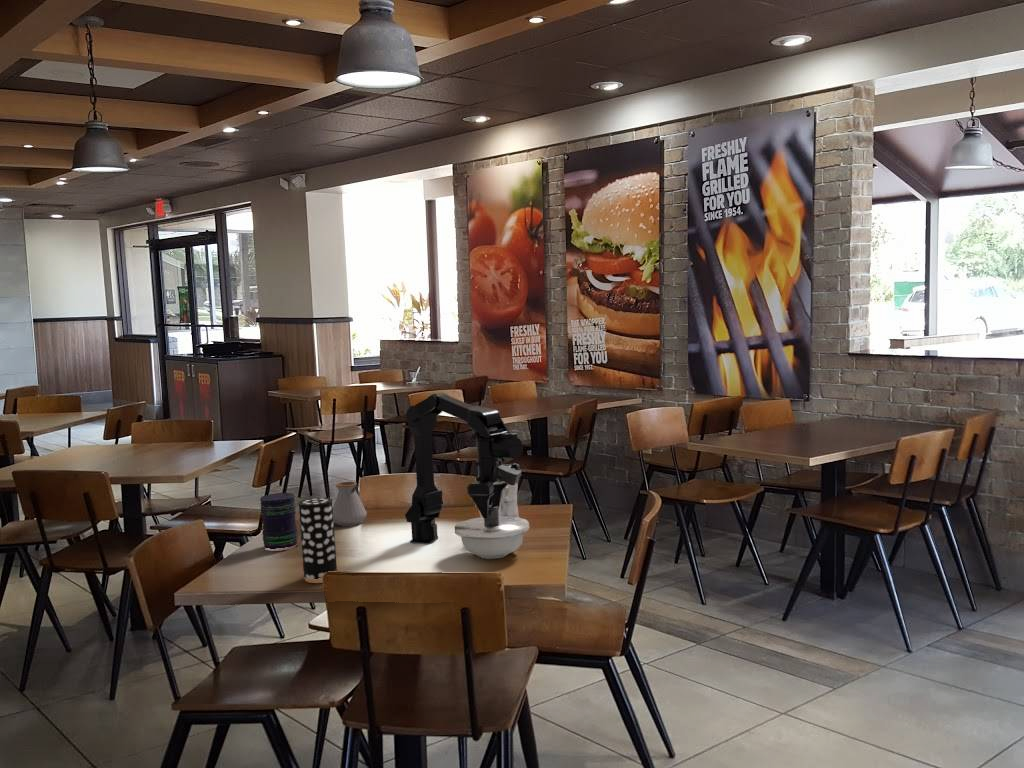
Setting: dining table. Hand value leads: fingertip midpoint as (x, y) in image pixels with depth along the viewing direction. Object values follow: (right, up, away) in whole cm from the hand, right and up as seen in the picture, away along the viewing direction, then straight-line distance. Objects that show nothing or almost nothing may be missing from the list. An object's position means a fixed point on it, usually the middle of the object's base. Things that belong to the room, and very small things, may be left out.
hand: (491, 514), depth 245 cm
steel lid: (0, -4, 0) cm, 4 cm away
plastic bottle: (+5, -9, +24) cm, 26 cm away
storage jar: (-62, -13, +21) cm, 66 cm away
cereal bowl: (+1, -11, +1) cm, 11 cm away
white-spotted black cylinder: (-43, -15, -13) cm, 47 cm away
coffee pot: (-44, -10, +41) cm, 61 cm away
